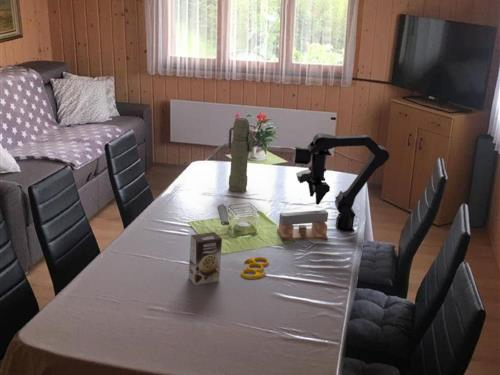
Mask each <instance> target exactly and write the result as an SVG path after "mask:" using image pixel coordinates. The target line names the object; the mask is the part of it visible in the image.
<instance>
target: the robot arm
mask: <svg viewBox="0 0 500 375" xmlns="http://www.w3.org/2000/svg"><path fill="white" fill-rule="evenodd" d="M339 147H340V148H341V147H366V148H367V149H368V150H369V151H370V153H369V156H368V159H367V162H366V163H365V166H364V167H363V168H362V169H361V171H360V172H359V173H358V174H357V176H356V177H355V178H354V180H353V182H352V183H351V184H350V185H349V187H348V188H347V189H346V190H344V191H342V190H340V191H339V193H338V195H336V196H335V200H334V205H335V208H336V210H337V212H338V213H337V217H336V219H335V226H336V229H337V230H338V231H339V232H354V231H355V229H354V222H355V217H356V213H355V211H354V209H353V206H354V203H355V200H356V197H357V196H358V194H359V193H360V192H361V190H362V189H363V187H364V186H365V184H367V182H368V181H369V180H370V178H371V177H372V176H373V174H374V173H375V172H376V170H377V169H379V168H381V167H382V166H384V165H385V164H386V162H387V161H388V160H389V159H390V154H389V151H388V150H387V149H386V148H385V146H383V145H378V143H376V142H375V140H373V139H372V137H371V136H370V135H368V134H365V133H364V134H362V135H361V134H360V135H359V134H358V135H355V134H354V135H332V134H329V133H317V134H315V135H314V136H313V138H312V141H311V142H310V143H309V144H308V145H307V147H299V146H296V147H295V148H294V152H293V159H292V161H293V162H292V163H293V164H294V165H308V164H310V163H311V164H310V165H309V166H308V169H303V170H301V171H299V172H296V173H295V174H296V179H297V181H298V182H299V183H300V184H303V183H305V182H306V183H307V185H308V190H309V196H310V197H314V194H315V204H316V205H319V204H320V203H321V201H322V200H323V198H324V197H325V196H326V195H327V193H329V192H330V190H331V186H330V185H329V183H327V182H326V178H325V172H327V168H326V162H327V156H328V157H331V156H332V153H331V151H330V150H331V149H334V148H339Z"/></svg>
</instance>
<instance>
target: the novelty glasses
mask: <svg viewBox="0 0 500 375" xmlns="http://www.w3.org/2000/svg"><path fill="white" fill-rule="evenodd" d="M257 261H263V262H262V263H261V262H257ZM246 263H247V265H246V268H245V269H243V270H241V272H240V275H241V278H243V279H248V280H256V279H261V278H263V277H265V276H266V275H267V273H266V272H263V271H264V267H267V266H268V265H269V264H270V262H269V260H268V259H267V258H266V257H262V256H258V257H257V256H256V257H250V258H248V259H246V260H245V261H244V264H246ZM252 267H258V268H252ZM245 273H253V275H252V274H251V275H247V274H245Z"/></svg>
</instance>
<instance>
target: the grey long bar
mask: <svg viewBox="0 0 500 375" xmlns="http://www.w3.org/2000/svg"><path fill="white" fill-rule="evenodd" d="M328 217H329V212H328V210H326V209H322V210H320V209H319V210H310V211H309V210H307V211H306V210H305V211H295V212H293V211H292V212H280V213H279V220H278V221H279V223H280V224H281V225H293V226H294V225H305V224H312V223H319V222H325V223H326V222H328V220H329V218H328ZM279 223H278V224H279Z"/></svg>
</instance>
